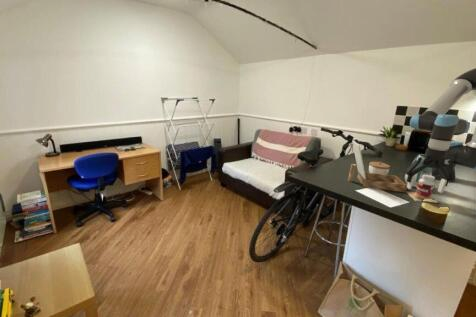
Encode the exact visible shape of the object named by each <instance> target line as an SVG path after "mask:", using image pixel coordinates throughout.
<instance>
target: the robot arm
mask: <svg viewBox="0 0 476 317" xmlns="http://www.w3.org/2000/svg"><path fill="white" fill-rule="evenodd" d="M471 91H476V68H473V69H470V70H468V71H465V72H463V73H462V74H460V75H459V76H457V77H456V78H455V79H453V80H452V81H451V82H450V83H449V87H448V88H447V89H446V90H445V91H444V92H443V93H442V94H440V96H439V97H438V98H437V99H436V100H435V101H434V102H433V103H432V104H431V105H430V106H429V107H428V108H427V109H426V110H425V111H424V112H422V114H420V113H419V114H414V115H412V117H411V118H410V120H409V126H410V128H411V129H414V130H418V131H427V132H431V134H430V138H429V141H428V144H427V146H428V147H426V150H425V153H424V155H425V157H424V158H422V157H419V156H418V155H416V156H415V158H416V159H415V158H414V160H415V161H414V160H413V161H414V162H413V161H412V163H411V164H410V165H409V166H408V167H407V169H405V170H404V174H407V175H408V178H407V182H408V184H407V183H406V184H407V189H408V190H412V184H413V181H414V178H415V177H414V175H415V174H417V173H418V172H420V171H421V170H423V169H424V168H427V167H429V168H432V176H434V177H435V179H434V180H436V181H437V180H438V181H440V183H439V185H438V189H437V192H438V193H440V194H443V193H444V190H445V188H446V187H447V186H448V184H449V182H455V180H456V165H457V166H461V167H465V168H469V169H474V170H476V126H475V127H474V130H473V134H472V137H471V140H470V141H469V142H466V144H465V145H464V141H463V142H462V141H454V140H453V137H454V136H460V135H464V134H465V133H467V132H468V131H469V130H470V122H469V121H468V120H466V119H463V118H460V117H459V116H458V115H454V114H446V113H447V112H448V111H449V110H451V108H452V107H453V106H454V105H455V104H456V103H457V102H458V101H459V100H461V99H462V97H464V95H468V94H469V93H471ZM422 161H424V162H423V163H421V164H420V162H422ZM419 164H420V165H419ZM418 165H419V166H418ZM417 166H418V167H417ZM416 167H417V168H416Z"/></svg>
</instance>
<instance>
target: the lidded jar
mask: <svg viewBox="0 0 476 317" xmlns="http://www.w3.org/2000/svg"><path fill="white" fill-rule="evenodd" d="M390 168H391V166H390V165H389V164H387V163H384V162H382V161H370V162H369V166H368V173H377V174H385V175H388V174H389V171H390Z"/></svg>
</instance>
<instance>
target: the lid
mask: <svg viewBox="0 0 476 317" xmlns="http://www.w3.org/2000/svg"><path fill="white" fill-rule="evenodd" d="M351 142H352V148H353V152H354V157H355V162H356V163H355V164H356V168H357V172H359V173H360V174H361V175H362V177H363V178H364V179H366V177H365V172H366V171H365V166H364V161H363V156H362V150H361V145H360V144H359V143H357V142H356V141H355V140H352V141H351Z"/></svg>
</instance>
